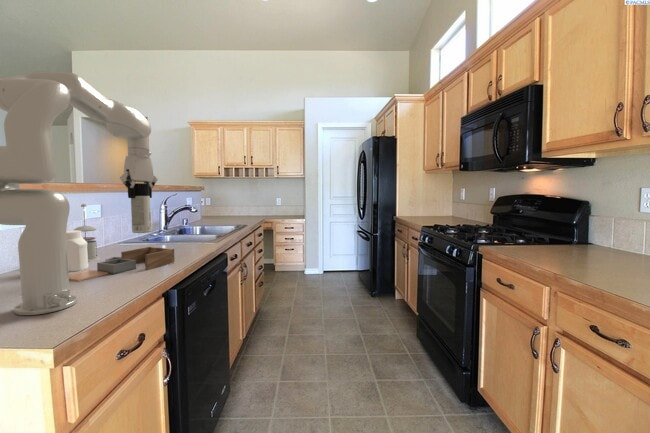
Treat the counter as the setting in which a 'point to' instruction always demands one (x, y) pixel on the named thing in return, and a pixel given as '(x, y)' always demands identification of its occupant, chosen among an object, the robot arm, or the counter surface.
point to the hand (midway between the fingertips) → (140, 197)
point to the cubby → (150, 256)
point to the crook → (112, 258)
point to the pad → (86, 275)
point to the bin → (116, 266)
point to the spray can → (141, 209)
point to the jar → (76, 251)
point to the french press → (90, 244)
